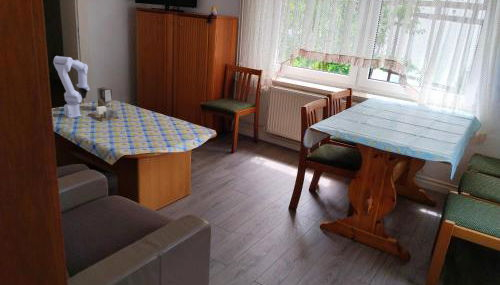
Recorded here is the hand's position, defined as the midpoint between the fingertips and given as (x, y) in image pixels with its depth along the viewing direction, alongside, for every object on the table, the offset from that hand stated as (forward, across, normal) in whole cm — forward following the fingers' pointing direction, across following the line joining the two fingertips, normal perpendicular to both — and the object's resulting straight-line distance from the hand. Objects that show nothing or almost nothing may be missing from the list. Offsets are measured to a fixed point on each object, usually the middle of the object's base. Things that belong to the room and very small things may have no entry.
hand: (83, 98), depth 286 cm
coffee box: (+10, -5, -14) cm, 18 cm away
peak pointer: (+8, -27, +3) cm, 29 cm away
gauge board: (+9, -22, -2) cm, 24 cm away
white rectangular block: (+8, -20, -1) cm, 21 cm away
